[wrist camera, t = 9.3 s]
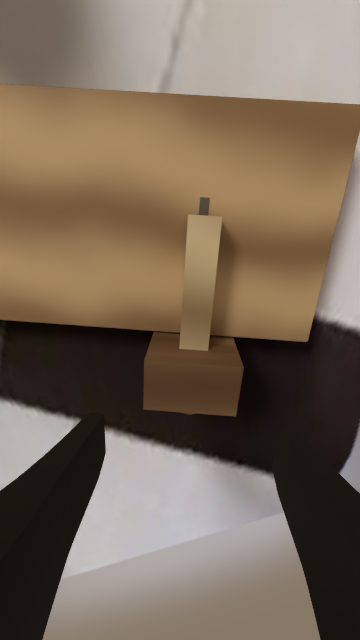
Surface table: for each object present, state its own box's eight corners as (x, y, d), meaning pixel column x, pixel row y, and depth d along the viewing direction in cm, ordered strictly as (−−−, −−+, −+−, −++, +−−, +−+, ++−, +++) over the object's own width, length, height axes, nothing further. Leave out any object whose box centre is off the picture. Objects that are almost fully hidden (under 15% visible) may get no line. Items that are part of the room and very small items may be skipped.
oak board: (293, 326, 19) (307, 342, 17) (-128, 296, 20) (-171, 307, 17) (338, 122, 15) (366, 104, 13) (-199, 90, 15) (-269, 68, 13)
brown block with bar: (222, 373, 21) (233, 431, 15) (156, 368, 21) (143, 423, 15) (242, 218, 17) (267, 219, 11) (161, 213, 17) (146, 211, 11)
